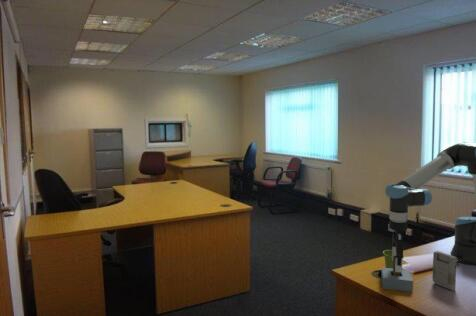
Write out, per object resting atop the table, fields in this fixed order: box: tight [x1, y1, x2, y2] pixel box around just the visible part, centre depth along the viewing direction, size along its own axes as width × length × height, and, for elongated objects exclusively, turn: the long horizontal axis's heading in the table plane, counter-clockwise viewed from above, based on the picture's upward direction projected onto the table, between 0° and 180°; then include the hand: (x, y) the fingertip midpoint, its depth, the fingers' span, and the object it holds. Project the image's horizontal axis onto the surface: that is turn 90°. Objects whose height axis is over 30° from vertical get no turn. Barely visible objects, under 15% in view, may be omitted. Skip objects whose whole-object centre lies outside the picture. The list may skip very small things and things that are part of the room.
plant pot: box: [382, 249, 393, 269], centre depth 182 cm, size 9×9×9 cm
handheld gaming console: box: [431, 250, 458, 291], centre depth 163 cm, size 9×4×15 cm, turn 28°
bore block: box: [380, 267, 414, 293], centre depth 166 cm, size 12×12×5 cm
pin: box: [393, 256, 400, 276], centre depth 166 cm, size 3×3×12 cm
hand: (396, 266), depth 166 cm, fingers open, 13 cm apart
